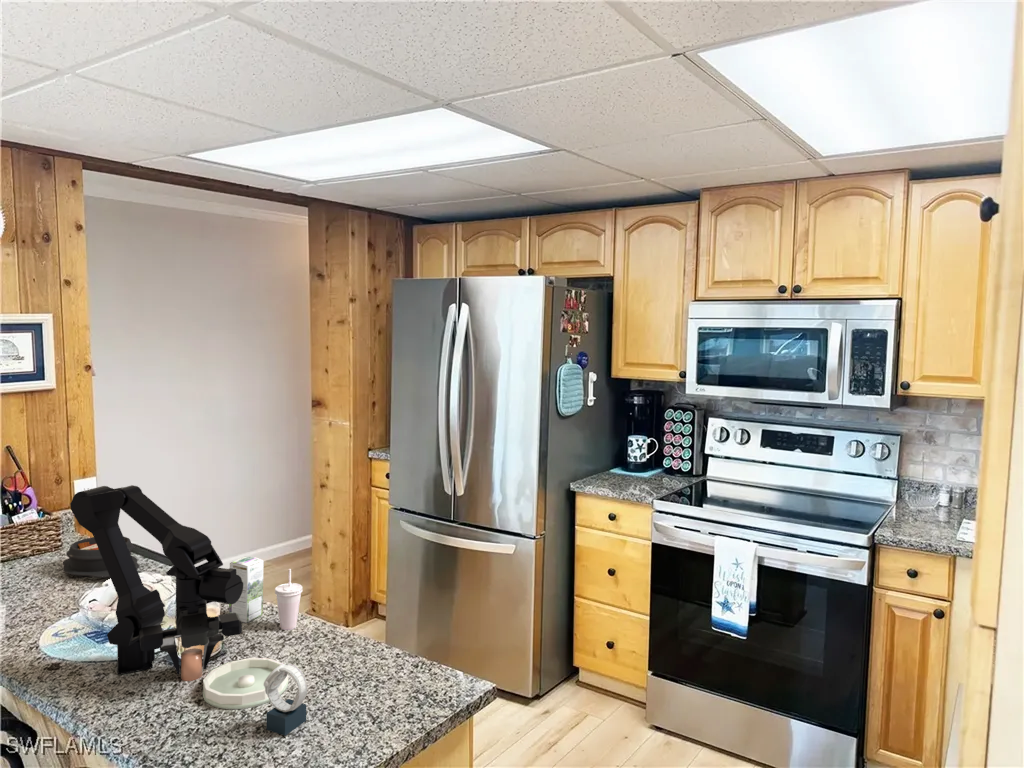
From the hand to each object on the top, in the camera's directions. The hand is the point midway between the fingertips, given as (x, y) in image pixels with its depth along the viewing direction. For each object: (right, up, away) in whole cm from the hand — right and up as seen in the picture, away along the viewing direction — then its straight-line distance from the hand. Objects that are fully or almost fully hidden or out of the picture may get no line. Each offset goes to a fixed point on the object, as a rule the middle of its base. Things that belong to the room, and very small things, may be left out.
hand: (191, 671), depth 146 cm
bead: (0, -1, 0) cm, 1 cm away
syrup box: (0, +1, +30) cm, 30 cm away
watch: (+25, -3, -17) cm, 30 cm away
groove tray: (+13, -2, -4) cm, 13 cm away
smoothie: (+12, 0, +25) cm, 28 cm away
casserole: (-53, +5, +60) cm, 80 cm away
